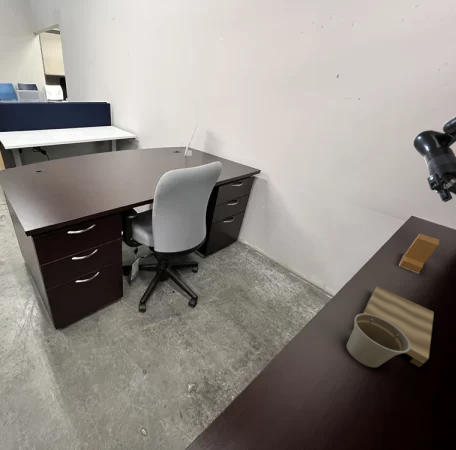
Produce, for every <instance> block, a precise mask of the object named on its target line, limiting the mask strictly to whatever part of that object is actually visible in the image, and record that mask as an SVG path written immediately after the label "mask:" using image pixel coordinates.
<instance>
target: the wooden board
mask: <svg viewBox="0 0 456 450" xmlns="http://www.w3.org/2000/svg"><path fill="white" fill-rule="evenodd" d="M364 313H366V314H371V315H375V316H378V317H380V318H382V319H384V320H386V321H388V322H390V323H391V324H393V325H394V326H396V327H397V328H398V329H399V330H401V331H402V332H403V333H404V334H405V335H406V337H407V338H408V340H409V341H410V344H411V349H410V350H409V351H408V352H406V353H405V354H406V355H408V356H410V359H409V362H410V363H411V364H413V365H414V366H416V367H418V368H421V367H422V366H423V365H424V364H425V363H426V362H427V361H428V360H429V358H430V351H431V341H432V333H433V325H434V324H433V323H434V316H435V315H434V314H435V311H433V310H431V309H428V308H426V307H425V306H422V305H420V304H418V303H415V302H413V301H411V300H409V299H407V298H404V297H402V296H400V295H398V294H397V293H393V292H391V291H389V290H387V289H384V288H383V287H380V286H376V287H375V289H374V290H373V291H372V293H371V295H370V297H369V299H368V302H367V303H366V305H365V308H364V310H363V312H362V314H364Z"/></svg>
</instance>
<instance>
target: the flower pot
mask: <svg viewBox="0 0 456 450" xmlns="http://www.w3.org/2000/svg"><path fill="white" fill-rule="evenodd" d="M353 321H354V322H353V329H352V331H351V334H350V336H349V338H348V341H347V343H346V350H347V351H348V353H349V354H350V356H352V357H353V358H354V359H355V360H356V361H357V362H359V363H360V364H362V365H364V366H366V367H370V368H379V367H380V366H382V365H383V364H384V363H386V362H387V361H389V360H390V359H392V358H394V357H395V356H398V355H399V356H400V355H401V354H406V352H408V351H409V350H410V349H411V344H410V341H409V340H408V338H407V337H406V335H405V334H404V333H403V332H402V331H401V330H399V329H398V328H397V327H396V326H394V325H393V324H391V323H390V322H388V321H386V320H384V319H382V318H380V317H378V316H375V315H371V314H366V313H364V314H363V313H358V314H356V315H355V316H354V320H353Z"/></svg>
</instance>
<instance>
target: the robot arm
mask: <svg viewBox="0 0 456 450" xmlns="http://www.w3.org/2000/svg"><path fill="white" fill-rule="evenodd" d="M442 131H443V132H441V131H436V130H432V129H425V130H422V131H420V132H418V133H417V134H416V135H415V136H414V138H413V140H412V146H413V148H414V150H415V151H416V153H418V154H419V156H421V157H422V158H423V160H424V162H425V164H426V168H427V171H428V174H429V176H428V177H427V178H426V180H427V182H428V185H429V189H430V190H431V191H435V192H436V193H437V194H438V195H439V197H440V199H441V201H442V202H444V203H447V202H449V201H452V200H453V196H452V194H453V195H454V196H456V154H455V152H454V150H453V149H452V148H451V146H452V145H453V144H455V143H456V115H455V116H453V117H452V118H450V119H448V120H447V121H445V122H444V123H443V125H442Z"/></svg>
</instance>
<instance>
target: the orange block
mask: <svg viewBox="0 0 456 450" xmlns="http://www.w3.org/2000/svg"><path fill="white" fill-rule="evenodd" d="M439 244H440V239H438V238H436V237H432V236H429V235H426V234H423V233H418V235H417V236H416V237H415V239H414V240H413V242H412V243H411V244H410V246H409V248H408V249H407V250H406V252H404V254H403V255H402V257H401V260H400V261H399V264H398V266H399V267H402V268H403V269H406V270H409V271H411V272H413V273H416V274H420V273H421V271H422V270H423V268H424V264H425V263H426V262H427V261H428V259H429V258H430V257H431V256H432V254H433V253H434V251H435V250H436V249H437V248H438V247H439Z"/></svg>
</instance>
